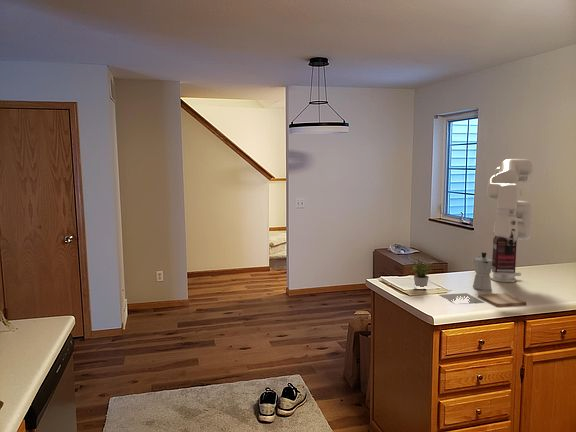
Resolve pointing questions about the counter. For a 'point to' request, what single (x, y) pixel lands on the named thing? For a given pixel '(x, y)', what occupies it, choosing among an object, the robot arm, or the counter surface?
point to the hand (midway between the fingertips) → (504, 252)
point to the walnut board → (501, 299)
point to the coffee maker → (482, 273)
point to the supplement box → (503, 257)
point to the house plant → (421, 273)
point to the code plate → (454, 296)
